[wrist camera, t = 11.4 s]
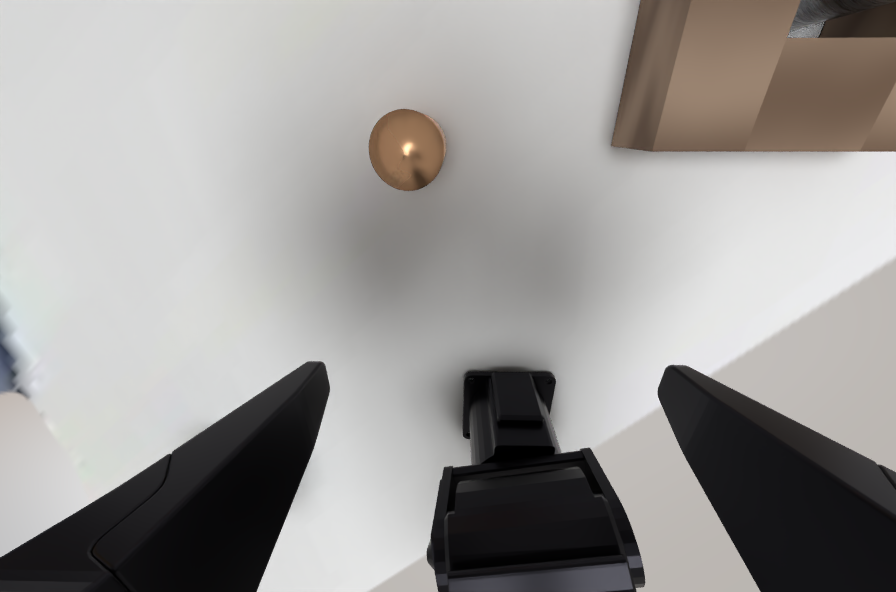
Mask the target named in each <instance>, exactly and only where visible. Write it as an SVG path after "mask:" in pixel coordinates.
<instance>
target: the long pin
mask: <svg viewBox="0 0 896 592" xmlns="http://www.w3.org/2000/svg"><path fill="white" fill-rule="evenodd" d="M893 2H896V0H801V1H800V4H799V7H798V9H797V12H796V15H795V17H794V20H793V23H792V25H791V28H790V31H793V30H797V29H800V28H804V27H807V26H811V25H814V24H818V23H822V22H825V21H829V20H832V19H836V18H839V17H843V16H847V15H850V14H854V13H857V12H861V11H864V10H868V9H871V8H875V7H879V6H882V5H886V4H889V3H893Z"/></svg>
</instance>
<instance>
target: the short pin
mask: <svg viewBox="0 0 896 592" xmlns="http://www.w3.org/2000/svg"><path fill="white" fill-rule="evenodd" d="M445 153H446V139H445V135H444V133H443V130H442V129H441V127H440V126H439V124H438V123H437V122H436V121H435V120H434V119H432V118H431V117H429V116H427V115H424V114H422V113H419V112H417V111H414V110H409V109H399V110H395V111H392V112H389V113H388V114H386V115H384V116H383V117H382V118H381V119H380V120H379V121H378V122H377V123H376V125H375V126H374V128H373V130H372V133H371V136H370V140H369V155H370V159H371V163H372V165H373V168H374V169H375V171H376V173H377V174H378V175H379V177H380V178H381V179H382V180H383V181H384V182H386V183H387V184H388V185H390V186H392V187H394V188H396V189H399V190H404V191H413V190H418V189H420V188H423V187H425V186H427V185H428V184H429V183H431V182H432V181H433V180H434V178H435V177H436V176H437V174H438V173H439V171H440V169H441V166H442V163H443V160H444V157H445Z"/></svg>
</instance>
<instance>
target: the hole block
mask: <svg viewBox="0 0 896 592" xmlns="http://www.w3.org/2000/svg"><path fill="white" fill-rule="evenodd" d="M800 1H801V0H641V2H640V7H639V12H638V17H637V22H636V27H635V32H634V37H633V41H632V46H631V51H630V56H629V61H628V66H627V71H626V76H625V81H624V85H623V90H622V95H621V100H620V105H619V110H618V115H617V120H616V125H615V129H614V134H613V139H612V144H611V146H614V147H622V148H630V149H637V150H645V151H896V2H893V3H889V4H886V5H882V6H879V7H875V8H871V9H868V10H864V11H861V12H857V13H854V14H850V15H847V16H843V17H839V18H836V19H832V20H829V21H826V23H825V25H824V27H823V30H822V32H821V35H820V37H819V38H787V36H788V33H789V31H790V28H791V25H792V23H793V20H794V17H795V15H796V12H797V9H798V7H799V4H800Z"/></svg>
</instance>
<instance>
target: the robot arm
mask: <svg viewBox="0 0 896 592" xmlns="http://www.w3.org/2000/svg"><path fill="white" fill-rule="evenodd" d="M469 378H473V380H469ZM547 379H550V380H548V381H546V380H547ZM555 384H556V379H555V377H554V375H553V374H552V373H547V372H468V373H466V374H465V376H464V401H463V437H464V438H466V439H470V443H471V463H472V465H469V466H461V467H454V468H453V466H449V467H444V470H443V476H442V480H440V485H439V491H438V496H437V502H436V508H435V514H434V520H433V526H432V531H431V539H430V542H429V545H428V548H427V561H428V563H429V564H430V565H431V567H432V568H433V569H434V570H435V576H436V582H437V587H438V592H636V588H638V587H644V585H645V575H644V569H643V564H642V560H641V556H640V552H639V549H638V545H637V542H636V539H635V536H634V533H633V530H632V527H631V525H630V522H629V520H628V517H627V515H626V513H625V510H624V508H623V506H622V504H621V502H620V500H619V498H618V497H617V495H616V493H615V491H614V489H613V488H612V486H611V484H610V482H609V480H608V479H607V477H606V475H605V473H604V472H603V470H602V468H601V466H600V464H599V463H598V461H597V459H596V457H595V456H594V454H593V452H592V450H591V449H590V448H583V449H580V451H574V452H566V453H561V450H560V447H559V443H558V440H557V437H556V434H555V431H554V428H553V425H552V422H551V419H550V416H549V415H550V410H551V404H552V399H553V394H554V389H555ZM329 392H330V385H329V380H328V375H327V371H326V366H325V364H324V363H323V362H321V361H309V362H306V363H305V364H303V365H302V366H300V367H299V368H297V369H296V370H294V371H293V372H291V373H290V374H288V375H287V376H285V377H283V378H282V379H280V380H279V381H277V382H276V383H274V384H273V385H271V386H270V387H268V388H267V389H265V390H264V391H262V392H261V393H259V394H258V395H256V396H255V397H253V398H252V399H250V400H249V401H247V402H246V403H244V404H243V405H241V406H240V407H238V408H237V409H235V410H234V411H232V412H231V413H229V414H228V415H226V416H225V417H223V418H222V419H220V420H219V421H217V422H216V423H214V424H213V425H211V426H210V427H208V428H207V429H205V430H204V431H202V432H201V433H199V434H198V435H196V436H195V437H193V438H192V439H190V440H189V441H187V442H186V443H184V444H183V445H181V446H180V447H178V448H177V449H175V450H174V451H173V452H172V454H168V455H166V456H165V457H163V458H162V459H160V460H159V461H157V462H156V463H154V464H153V465H151V466H150V467H148V468H147V469H145V470H143V471H142V472H140V473H139V474H137V475H136V476H134V477H133V478H131V479H129V480H128V481H126V482H125V483H123V484H122V485H120V486H119V487H117V488H115V489H114V490H112V491H110V492H109V493H107V494H106V495H104V496H102V497H101V498H99V499H97V500H96V501H94V502H92V503H91V504H89V505H88V506H86V507H84V508H83V509H81V510H79V511H78V512H76V513H75V514H73V515H71V516H69V517H68V518H66V519H64V520H62V521H61V522H59V523H57V524H56V525H54V526H52V527H51V528H49V529H47V530H46V531H44V532H43V533H41V534H39V535H37V536H36V537H34V538H33V539H31V540H29V541H27V542H26V543H24V544H22V545H20V546H19V547H17V548H15V549H14V550H12V551H10V552H9V553H7V554H5V555H4V556H2V557H0V592H257V589H258V587H259V584H260V582H261V579H262V577H263V574H264V572H265V569H266V567H267V564H268V562H269V559H270V557H271V554H272V552H273V549H274V547H275V544H276V542H277V539H278V537H279V534H280V532H281V529H282V527H283V524H284V522H285V519H286V517H287V514H288V512H289V509H290V507H291V504H292V502H293V499H294V497H295V494H296V492H297V489H298V487H299V484H300V482H301V479H302V477H303V474H304V472H305V469H306V467H307V465H308V462H309V460H310V457H311V454H312V452H313V449H314V446H315V443H316V439H317V436H318V432H319V429H320V425H321V422H322V418H323V414H324V411H325V407H326V404H327V400H328V396H329ZM658 398H659V400H660V403H661V405H662V407H663V409H664V412H665V414H666V416H667V418H668V421H669V423H670V425H671V428H672V430H673V432H674V434H675V437H676V439H677V441H678V443H679V446H680V448H681V450H682V452H683V454H684V456H685V458H686V460H687V461H688V463H689V465H690V467H691V469H692V470H693V472H694V474H695V476H696V477H697V479H698V481H699V483H700V485H701V486H702V488H703V490H704V492H705V494H706V495H707V497H708V499H709V501H710V502H711V504H712V506H713V508H714V510H715V511H716V513H717V515H718V517H719V518H720V520H721V522H722V524H723V526H724V527H725V529H726V531H727V533H728V534H729V536H730V538H731V540H732V541H733V543H734V545H735V547H736V548H737V550H738V552H739V554H740V556H741V557H742V559H743V561H744V563H745V565H746V566H747V568H748V570H749V572H750V573H751V575H752V577H753V579H754V581H755V582H756V584H757V586H758V588H759V590H760V591H761V592H896V472H894V471H892V470H890V469H888V468H886V467H884V466H882V465H877V464H876V463H875V462H874V461H872V460H871V459H869V458H867V457H865V456H863V455H861V454H859V453H857V452H855V451H853V450H851V449H849V448H847V447H845V446H843V445H841V444H839V443H837V442H835V441H833V440H831V439H829V438H827V437H825V436H823V435H821V434H820V433H818V432H815V431H814V430H812V429H810V428H808V427H806V426H804V425H802V424H800V423H798V422H796V421H794V420H792V419H790V418H788V417H786V416H784V415H782V414H780V413H778V412H776V411H774V410H773V409H770V408H768V407H767V406H765V405H762V404H760V403H759V402H757V401H755V400H753V399H751V398H749V397H747V396H745V395H743V394H741V393H739V392H737V391H735V390H733V389H731V388H729V387H727V386H725V385H723V384H721V383H720V382H717V381H715V380H713V379H712V378H710V377H708V376H706V375H704V374H702V373H700V372H698V371H696V370H694V369H692V368H690V367H688V366H685V365H670V366H668V367H667V368H666V369H665V371H664V374H663V377H662V379H661V382H660V384H659V387H658ZM468 432H470V433H468Z"/></svg>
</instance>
